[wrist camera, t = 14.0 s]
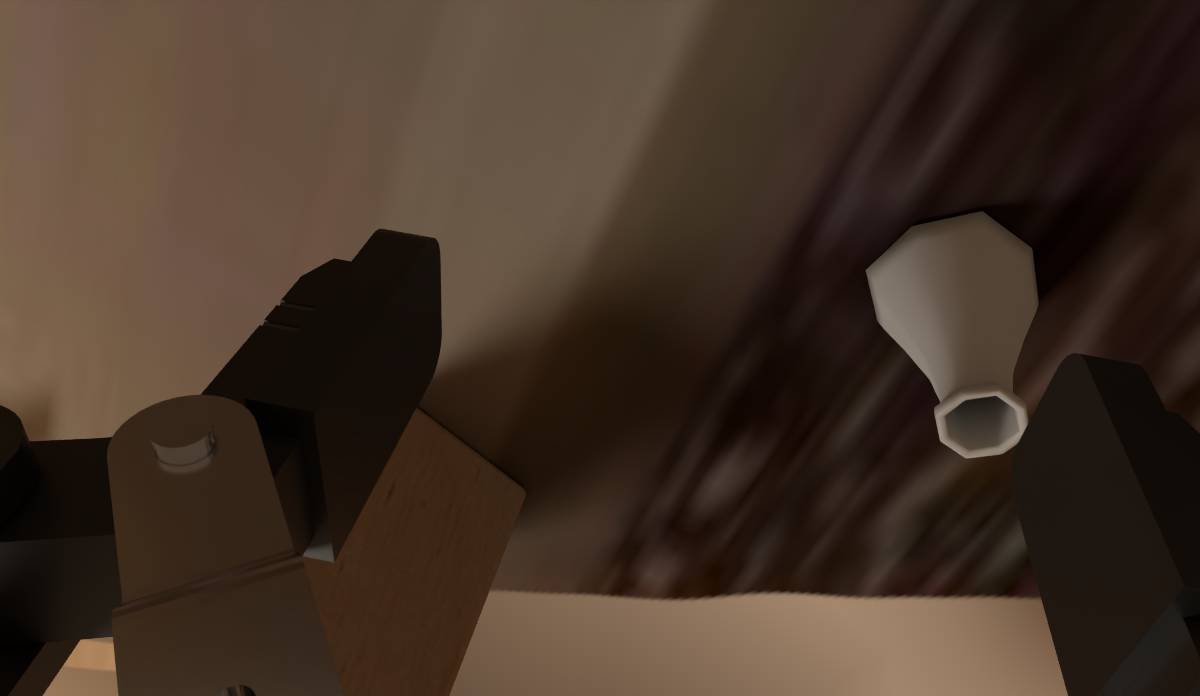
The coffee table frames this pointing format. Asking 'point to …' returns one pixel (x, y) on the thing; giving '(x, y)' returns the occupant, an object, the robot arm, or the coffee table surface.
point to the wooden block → (416, 566)
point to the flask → (962, 323)
